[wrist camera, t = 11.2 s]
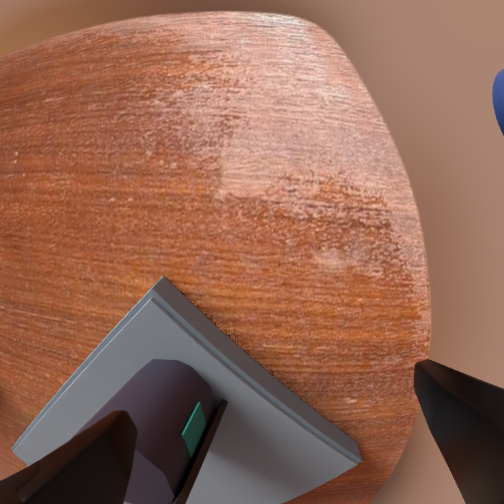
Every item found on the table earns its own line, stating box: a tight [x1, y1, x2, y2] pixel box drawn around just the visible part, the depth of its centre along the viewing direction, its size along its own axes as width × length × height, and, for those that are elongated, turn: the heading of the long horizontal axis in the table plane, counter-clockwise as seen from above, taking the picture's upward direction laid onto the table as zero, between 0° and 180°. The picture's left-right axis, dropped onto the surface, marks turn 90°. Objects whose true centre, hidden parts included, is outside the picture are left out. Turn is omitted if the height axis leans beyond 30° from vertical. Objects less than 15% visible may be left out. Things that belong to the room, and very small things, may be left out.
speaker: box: [71, 359, 228, 504], centre depth 15 cm, size 8×6×10 cm
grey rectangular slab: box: [11, 276, 362, 504], centre depth 24 cm, size 32×22×3 cm
